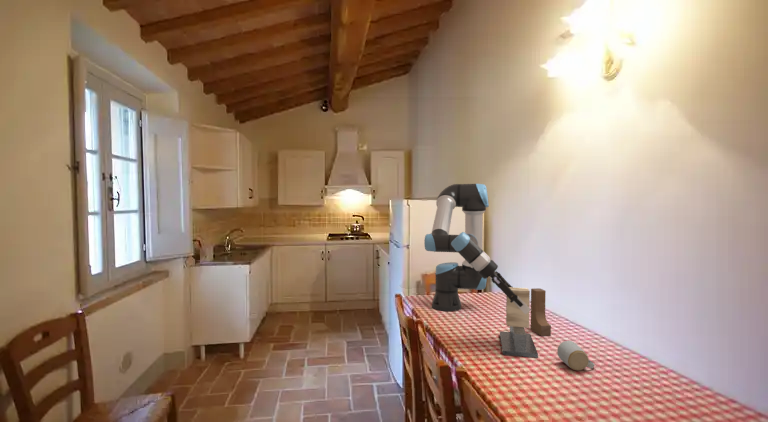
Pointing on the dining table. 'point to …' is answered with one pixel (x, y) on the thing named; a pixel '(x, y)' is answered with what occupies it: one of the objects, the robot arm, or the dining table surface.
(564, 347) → the ceramic mug
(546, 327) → the wooden block
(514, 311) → the birch post
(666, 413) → the dining table surface
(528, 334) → the gray t-shaped block
